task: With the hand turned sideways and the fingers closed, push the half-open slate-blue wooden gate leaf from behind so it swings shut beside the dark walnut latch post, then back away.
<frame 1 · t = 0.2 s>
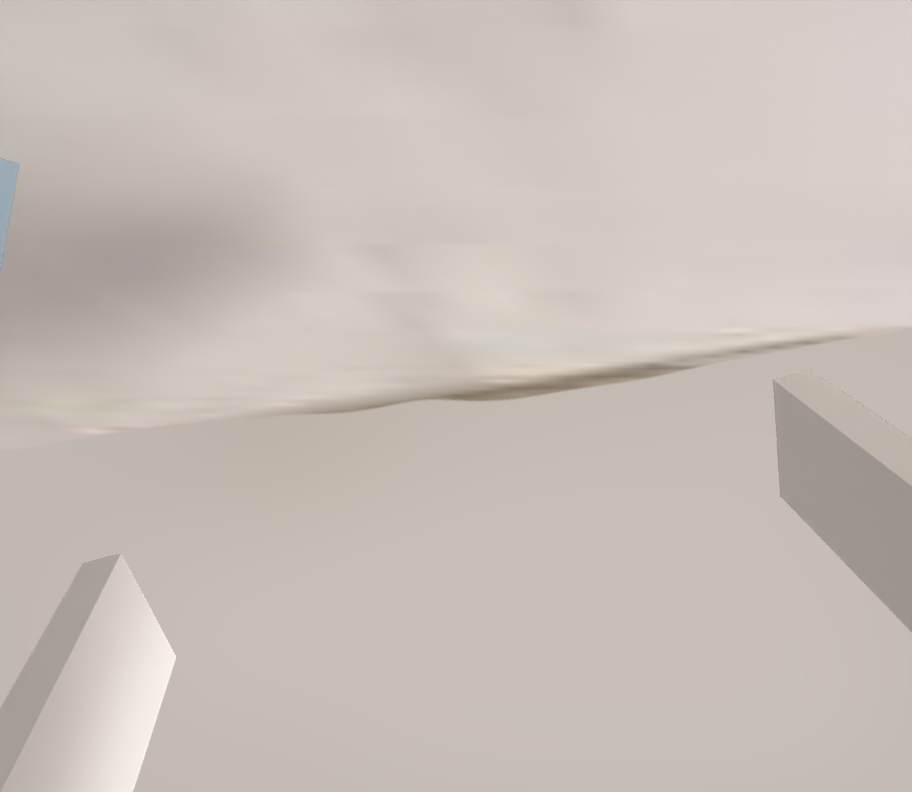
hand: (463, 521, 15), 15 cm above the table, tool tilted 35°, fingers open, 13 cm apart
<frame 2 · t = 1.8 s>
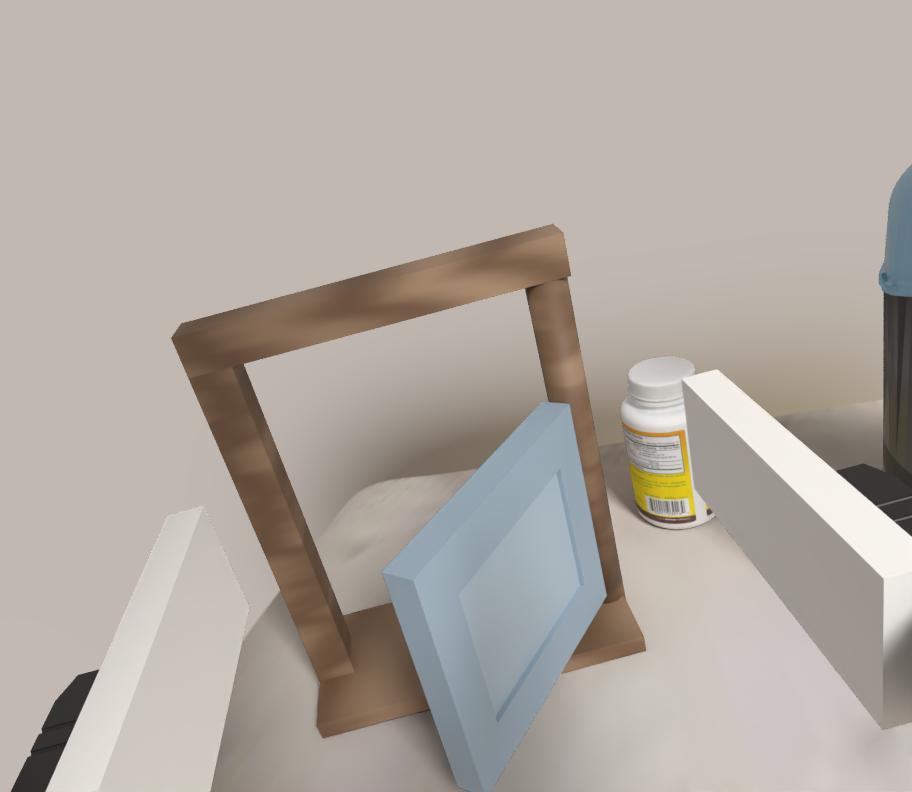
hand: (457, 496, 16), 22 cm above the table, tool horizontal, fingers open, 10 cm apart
supplement bottle: (679, 510, 49), on the table
gate frame: (474, 640, 43), on the table
gate leaf: (516, 586, 34), point 8 cm above the table, hinge at 50.0°
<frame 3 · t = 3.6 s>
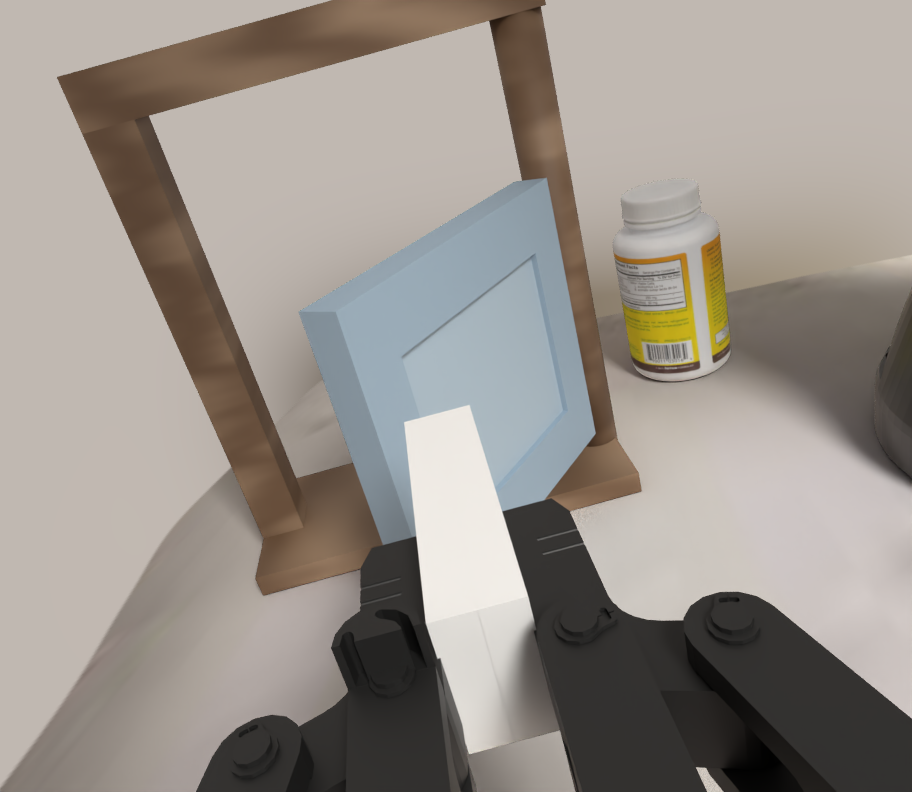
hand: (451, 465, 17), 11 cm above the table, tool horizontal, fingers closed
supplement bottle: (681, 366, 43), on the table
gate frame: (443, 495, 37), on the table
gate leaf: (482, 387, 28), point 8 cm above the table, hinge at 50.0°
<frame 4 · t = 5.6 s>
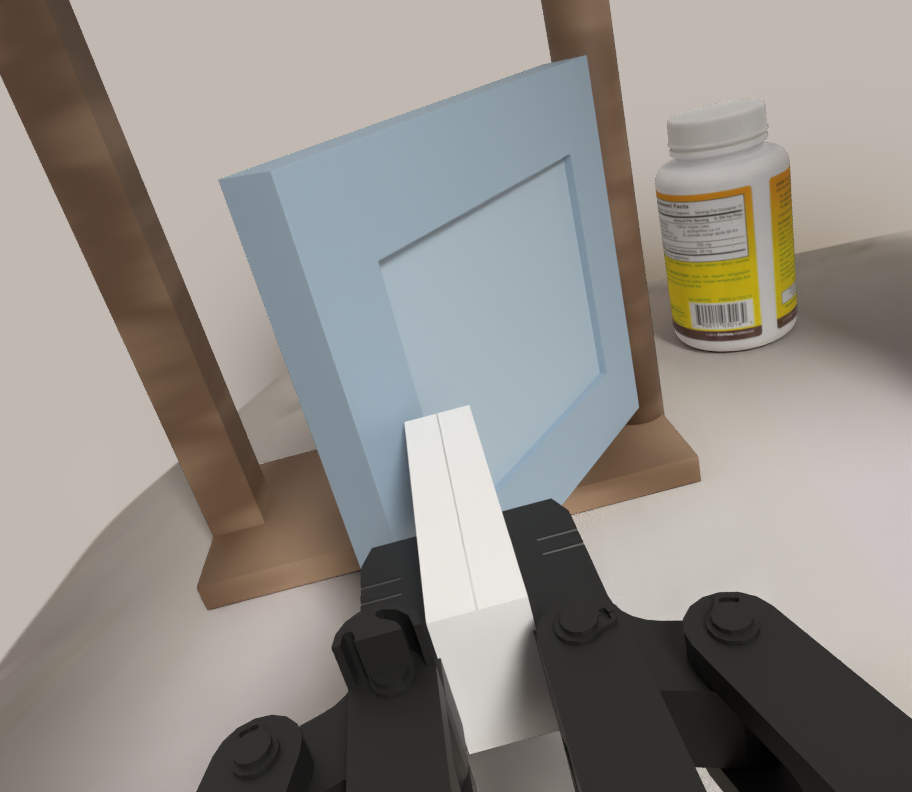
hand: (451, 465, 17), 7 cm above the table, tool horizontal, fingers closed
supplement bottle: (734, 335, 36), on the table
gate frame: (443, 485, 29), on the table
gate leaf: (495, 329, 21), point 8 cm above the table, hinge at 49.4°, touching gripper
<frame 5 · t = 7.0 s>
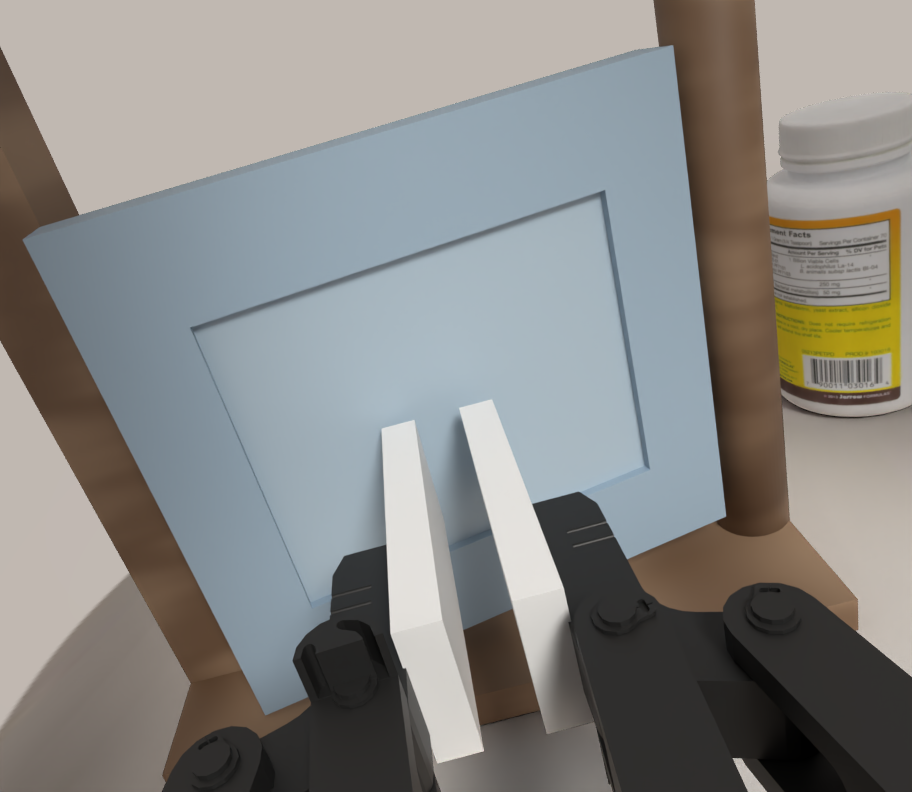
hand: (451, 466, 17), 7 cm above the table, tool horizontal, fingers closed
supplement bottle: (852, 391, 28), on the table
gate frame: (493, 609, 22), on the table
gate leaf: (442, 396, 17), point 8 cm above the table, hinge at 12.8°, touching gripper
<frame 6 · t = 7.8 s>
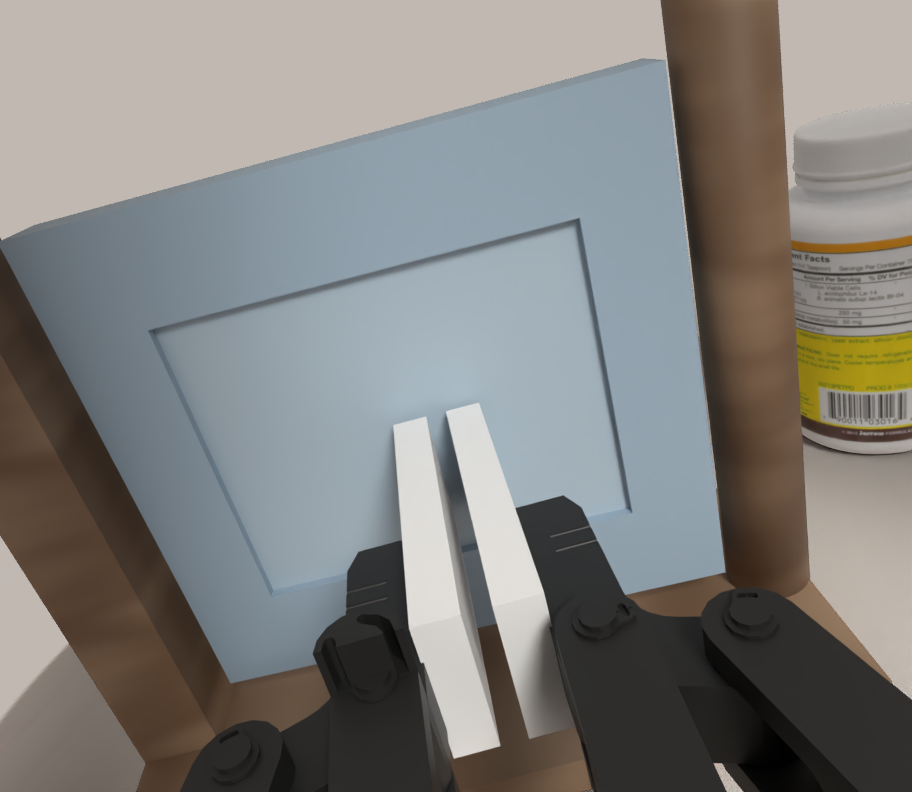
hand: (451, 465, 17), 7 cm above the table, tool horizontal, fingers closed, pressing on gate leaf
supplement bottle: (870, 423, 26), on the table
gate frame: (482, 675, 20), on the table
gate leaf: (408, 413, 17), point 8 cm above the table, hinge at -2.8°, touching gripper
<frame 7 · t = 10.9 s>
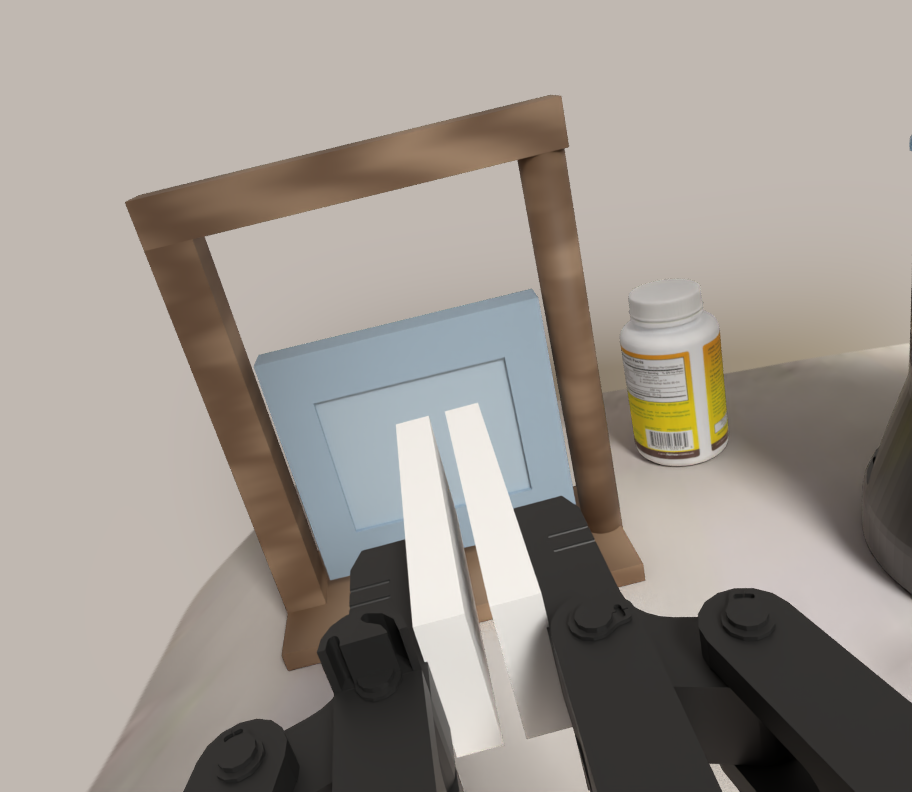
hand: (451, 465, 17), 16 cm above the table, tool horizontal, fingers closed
supplement bottle: (681, 449, 46), on the table
gate frame: (458, 574, 39), on the table
gate leaf: (426, 441, 36), point 8 cm above the table, hinge at -0.9°
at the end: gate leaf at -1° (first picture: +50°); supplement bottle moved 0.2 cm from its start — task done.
